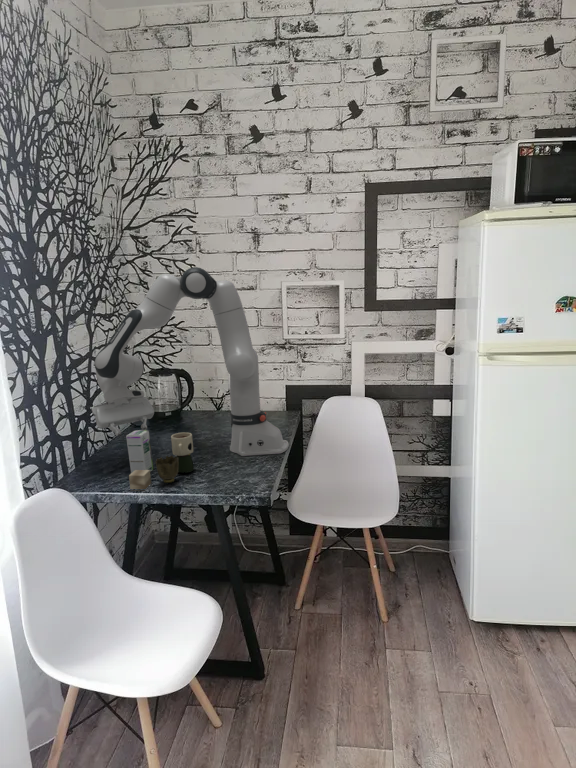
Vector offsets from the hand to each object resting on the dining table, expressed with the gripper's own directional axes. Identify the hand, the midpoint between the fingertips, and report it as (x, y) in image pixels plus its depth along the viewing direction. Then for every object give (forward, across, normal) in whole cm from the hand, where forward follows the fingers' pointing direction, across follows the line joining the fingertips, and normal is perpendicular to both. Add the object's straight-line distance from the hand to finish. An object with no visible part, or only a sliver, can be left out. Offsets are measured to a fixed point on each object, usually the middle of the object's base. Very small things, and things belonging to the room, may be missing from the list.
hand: (132, 432), depth 194 cm
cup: (+24, +3, -5) cm, 25 cm away
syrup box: (+14, 0, +6) cm, 15 cm away
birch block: (+22, -6, -3) cm, 23 cm away
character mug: (+20, +11, -1) cm, 23 cm away
